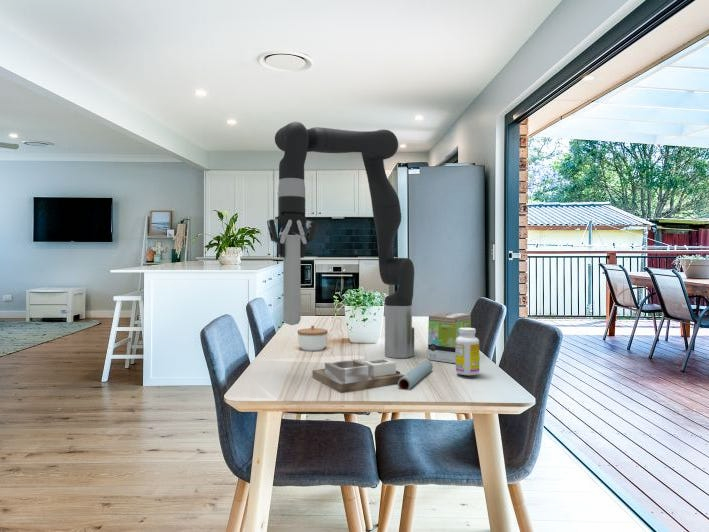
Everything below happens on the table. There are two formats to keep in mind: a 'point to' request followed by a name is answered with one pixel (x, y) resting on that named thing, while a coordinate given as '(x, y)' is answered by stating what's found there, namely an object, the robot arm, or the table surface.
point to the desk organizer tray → (352, 376)
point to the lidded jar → (312, 338)
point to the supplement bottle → (467, 352)
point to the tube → (292, 280)
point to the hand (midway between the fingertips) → (291, 257)
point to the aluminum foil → (415, 375)
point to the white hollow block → (382, 367)
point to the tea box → (445, 335)
